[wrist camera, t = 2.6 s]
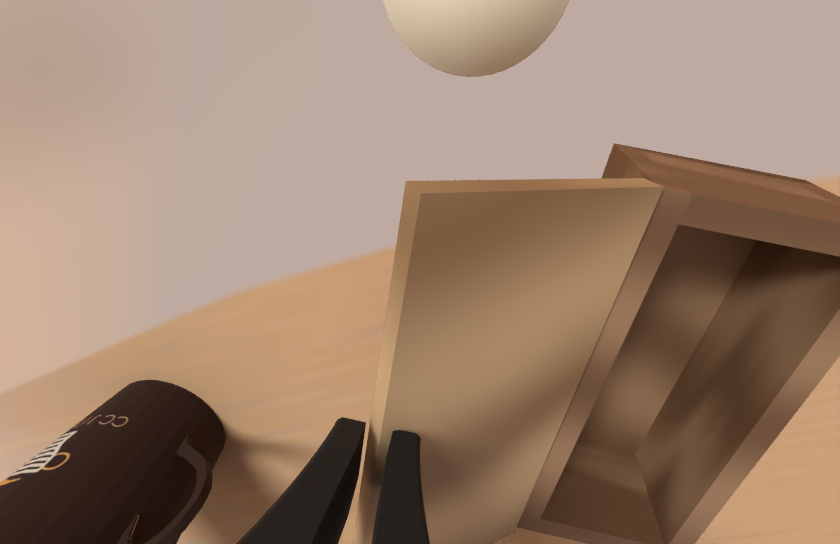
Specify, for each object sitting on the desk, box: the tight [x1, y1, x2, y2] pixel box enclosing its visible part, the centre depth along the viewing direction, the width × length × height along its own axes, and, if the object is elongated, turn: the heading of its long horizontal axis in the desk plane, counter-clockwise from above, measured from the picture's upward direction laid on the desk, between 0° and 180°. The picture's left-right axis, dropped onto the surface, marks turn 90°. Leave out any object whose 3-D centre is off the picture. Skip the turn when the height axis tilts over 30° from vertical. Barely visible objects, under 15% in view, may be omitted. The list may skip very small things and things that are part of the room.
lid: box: [352, 178, 664, 544], centre depth 13 cm, size 14×7×1 cm
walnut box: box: [517, 144, 840, 544], centre depth 17 cm, size 14×6×5 cm, turn 171°
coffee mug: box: [0, 380, 225, 544], centre depth 21 cm, size 12×9×10 cm
